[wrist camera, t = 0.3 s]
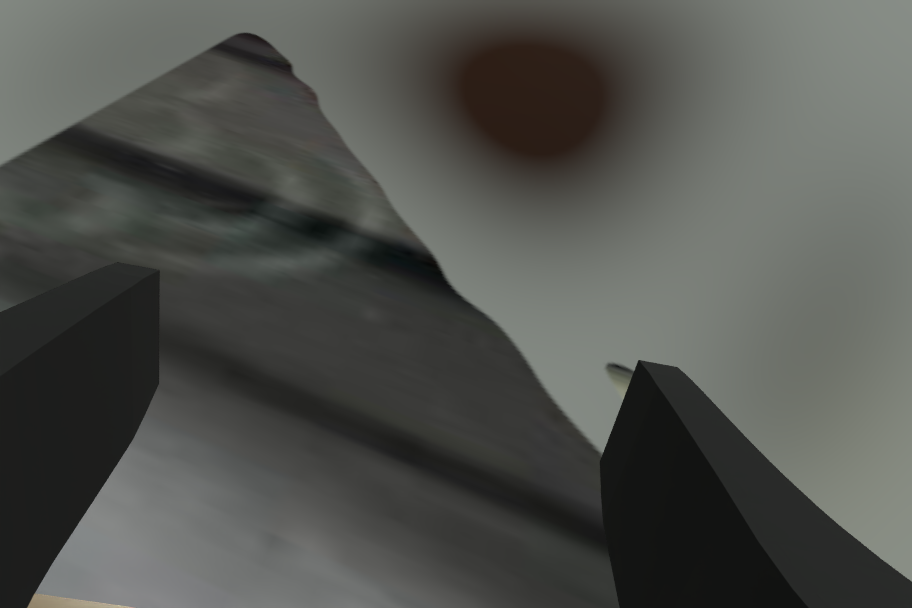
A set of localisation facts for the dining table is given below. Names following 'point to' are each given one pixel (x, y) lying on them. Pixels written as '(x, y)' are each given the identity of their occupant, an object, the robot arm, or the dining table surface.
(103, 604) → the wooden peg rack base
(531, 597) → the dining table surface
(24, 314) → the robot arm
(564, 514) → the dining table surface
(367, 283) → the dining table surface
